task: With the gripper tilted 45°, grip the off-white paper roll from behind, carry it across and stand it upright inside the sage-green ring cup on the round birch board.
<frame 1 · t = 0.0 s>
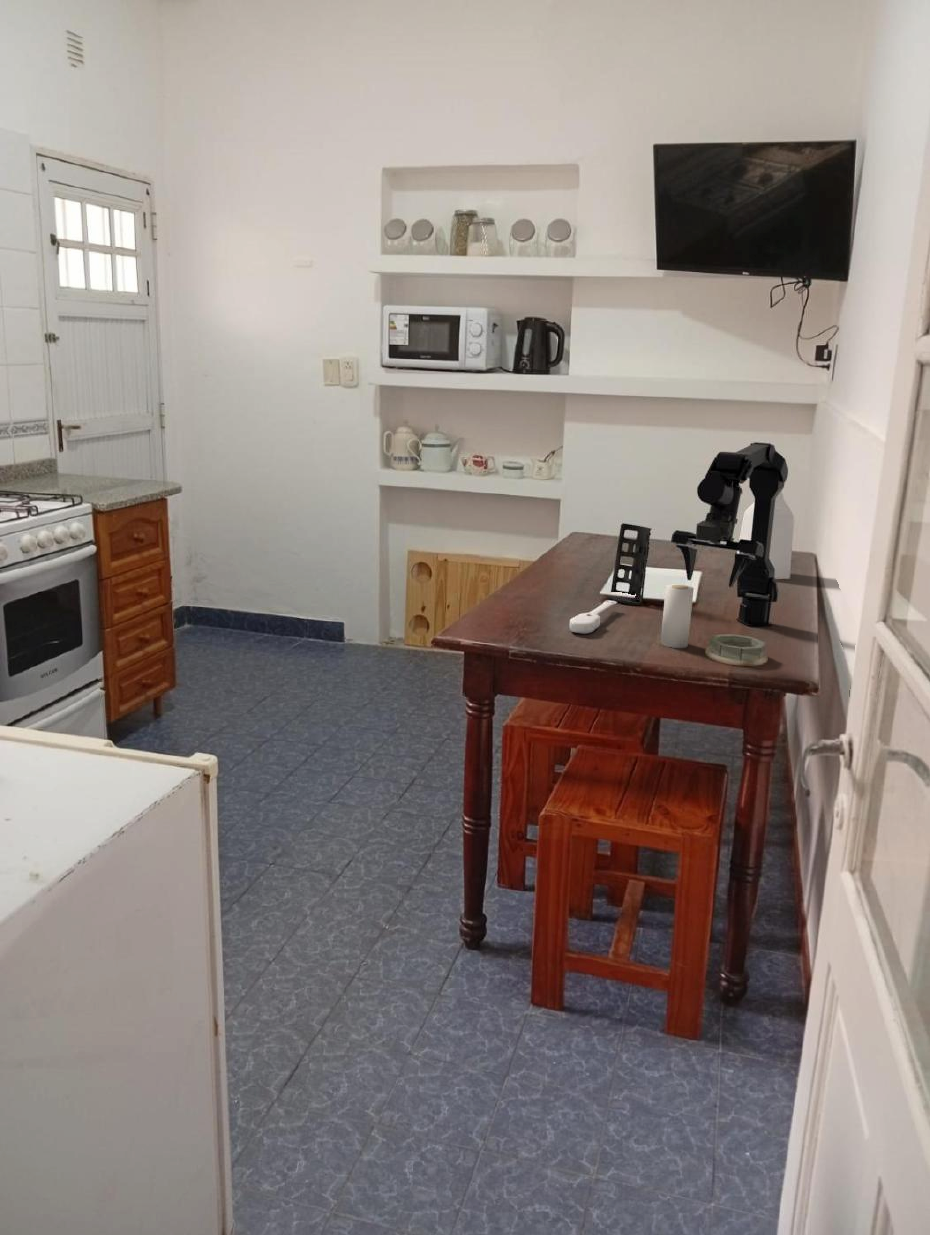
hand: (709, 583, 211), 15 cm above the table, tool pointing down, fingers open, 9 cm apart
white long handled piece: (594, 623, 237), on the table
milk: (761, 575, 302), on the table
paper roll: (674, 644, 221), on the table
holder: (628, 601, 260), on the table
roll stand: (736, 656, 213), on the table
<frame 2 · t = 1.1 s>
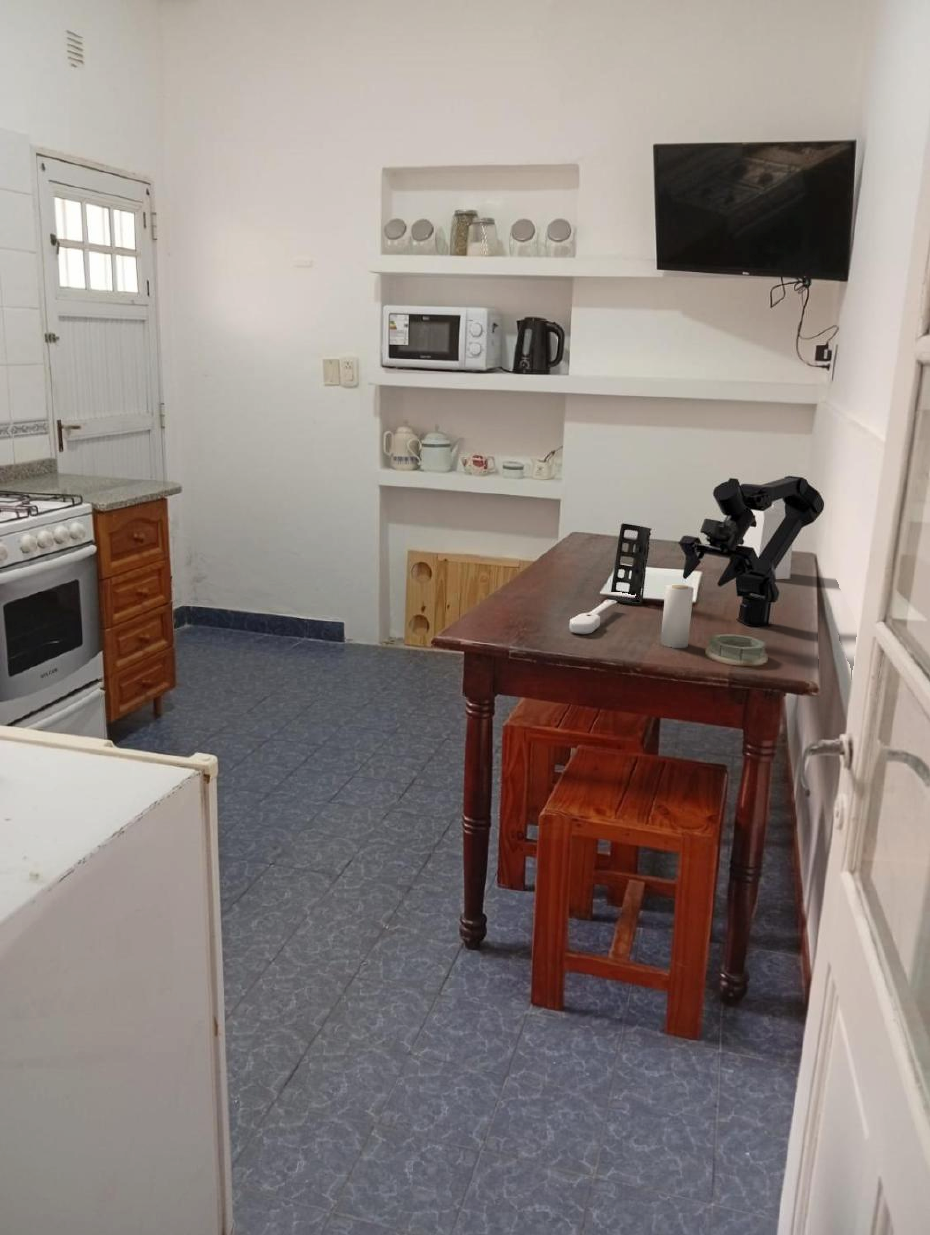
hand: (701, 581, 223), 13 cm above the table, tool tilted 45°, fingers open, 9 cm apart
nothing on the table moved.
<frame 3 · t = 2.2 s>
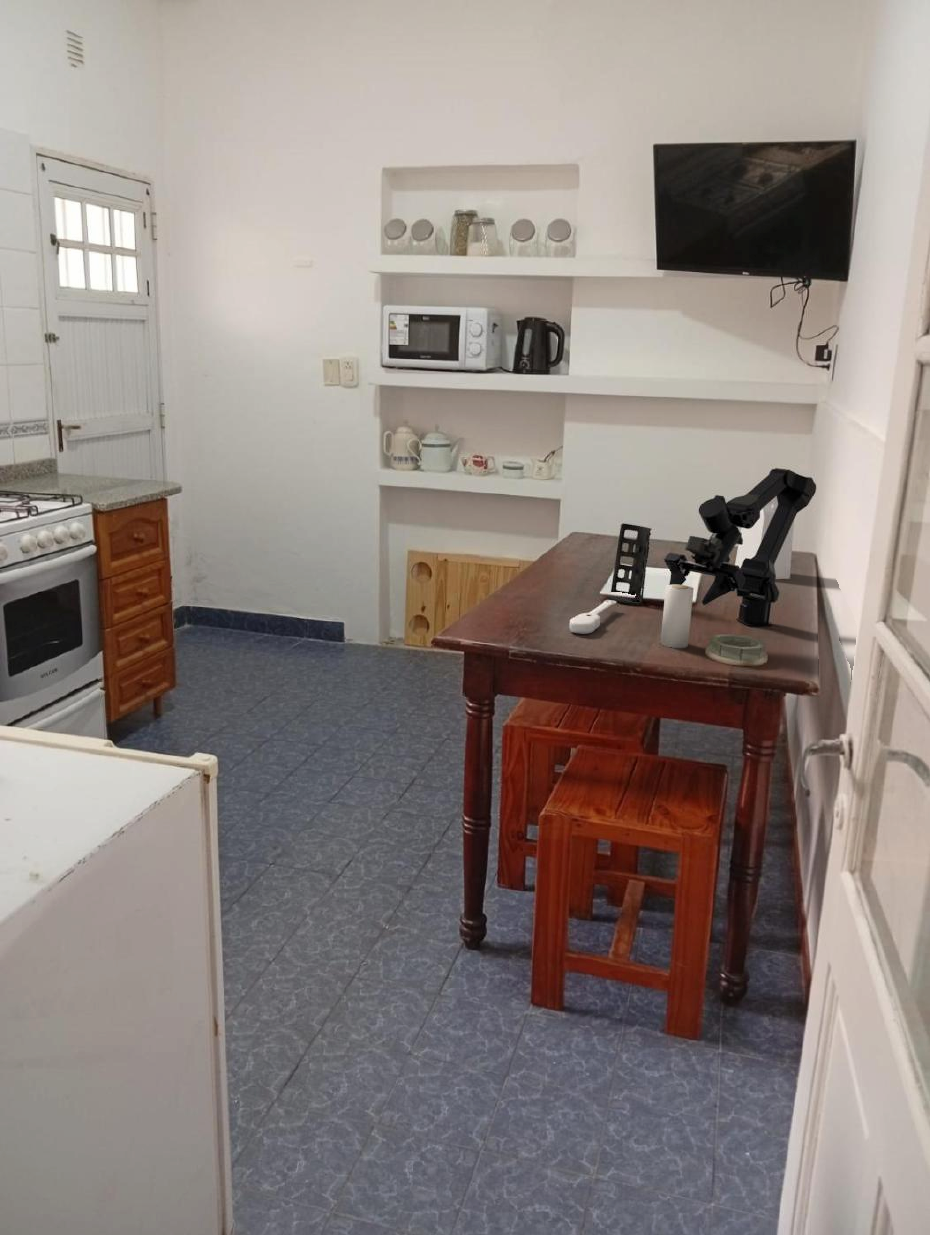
hand: (685, 599, 220), 10 cm above the table, tool tilted 45°, fingers open, 9 cm apart
nothing on the table moved.
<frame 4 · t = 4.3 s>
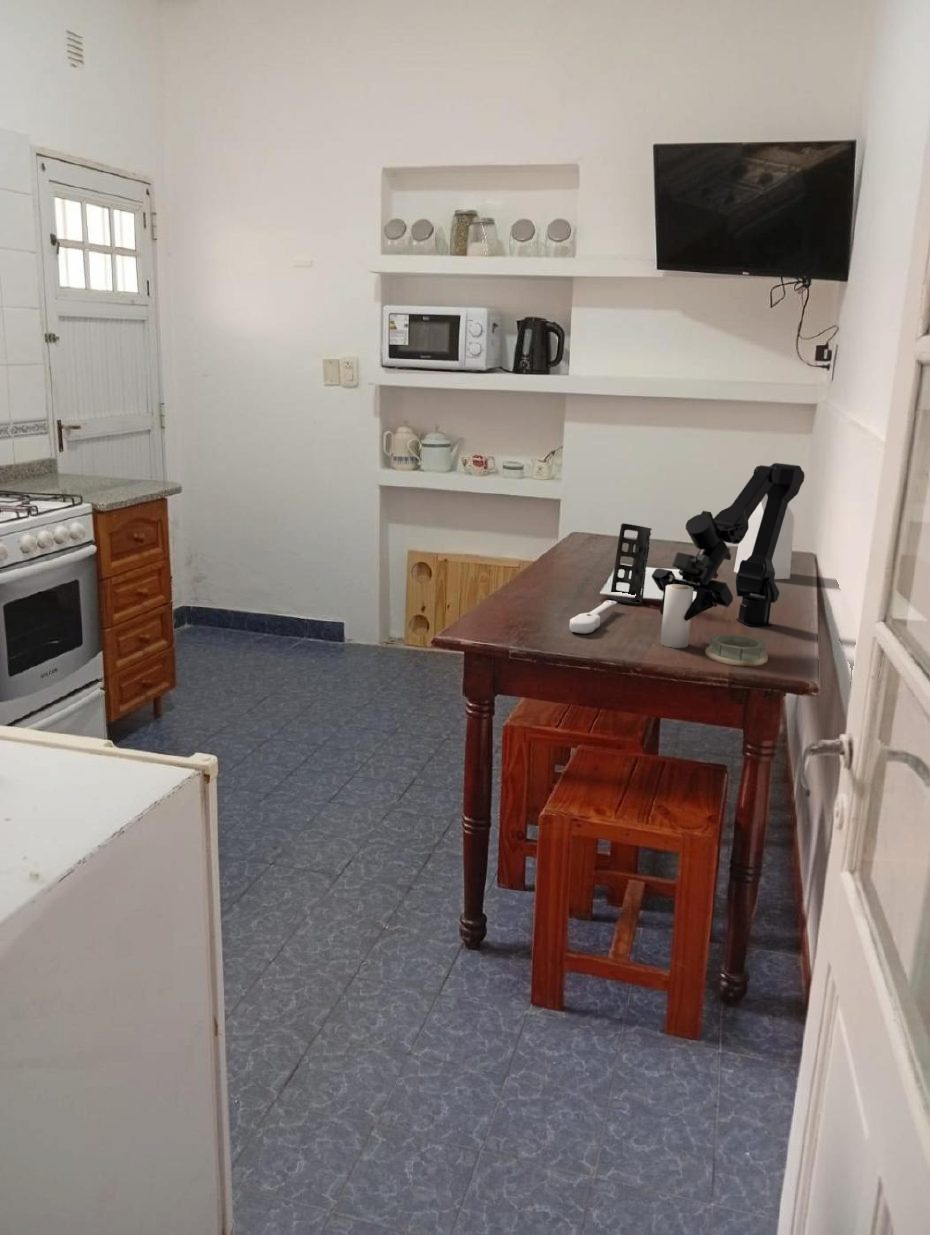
hand: (673, 616, 219), 7 cm above the table, tool tilted 45°, fingers closed on paper roll, 6 cm apart
paper roll: (674, 644, 221), on the table, touching gripper
everything else where it was.
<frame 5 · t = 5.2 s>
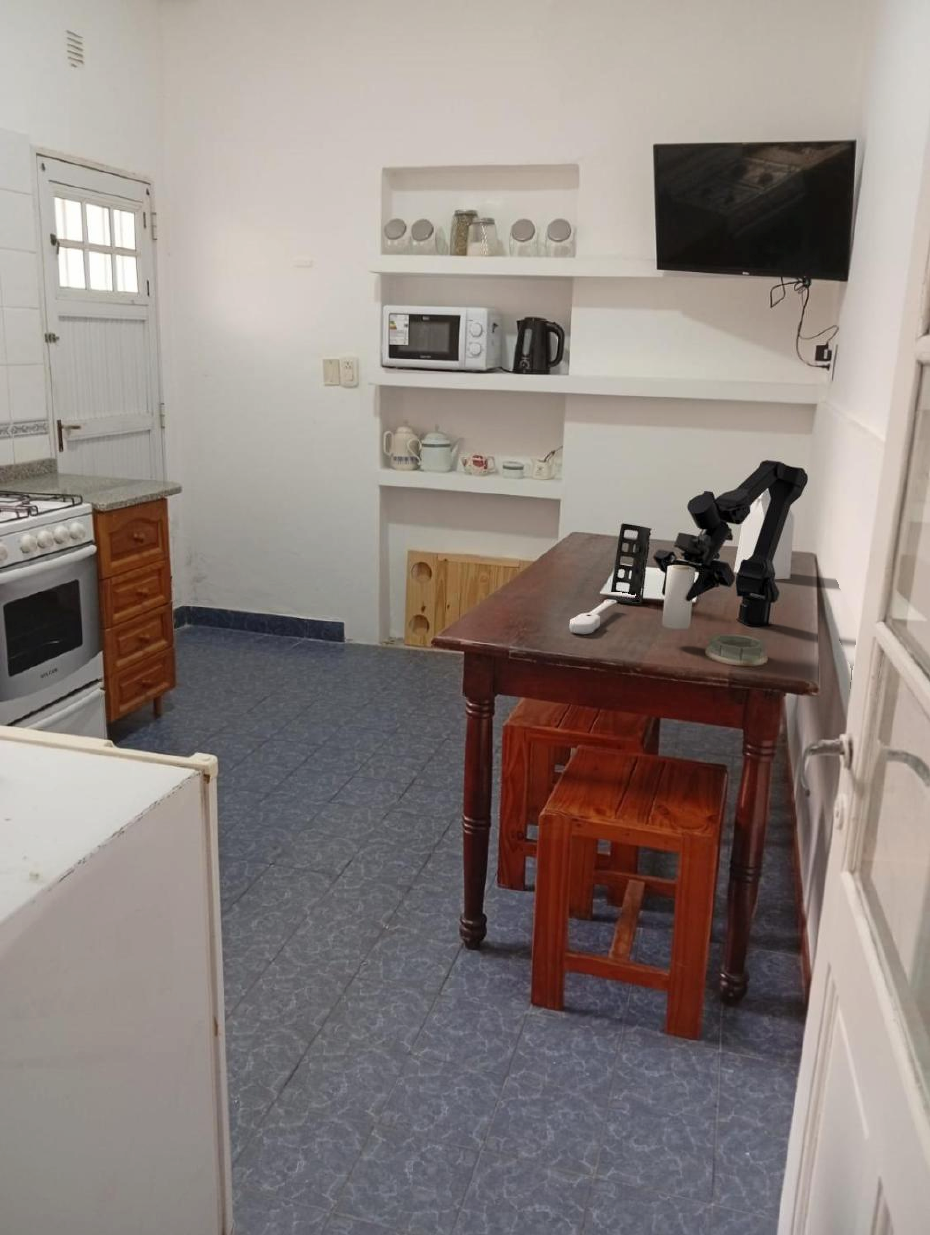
hand: (674, 597, 217), 11 cm above the table, tool tilted 45°, fingers closed on paper roll, 6 cm apart
paper roll: (675, 625, 220), point 4 cm above the table, touching gripper
everything else where it was.
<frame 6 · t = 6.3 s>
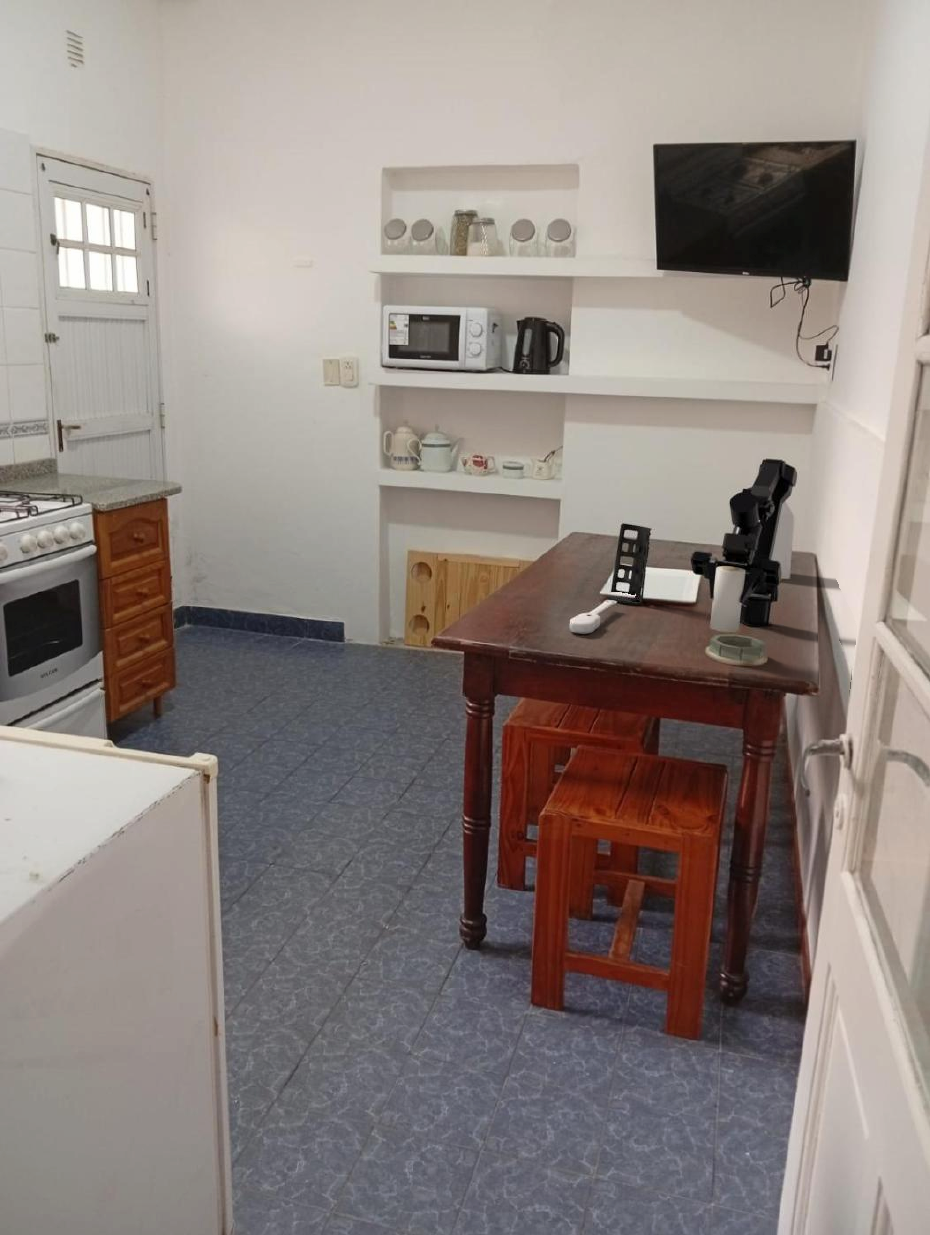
hand: (726, 599, 210), 12 cm above the table, tool tilted 45°, fingers closed on paper roll, 6 cm apart
paper roll: (724, 628, 213), point 6 cm above the table, touching gripper
everything else where it was.
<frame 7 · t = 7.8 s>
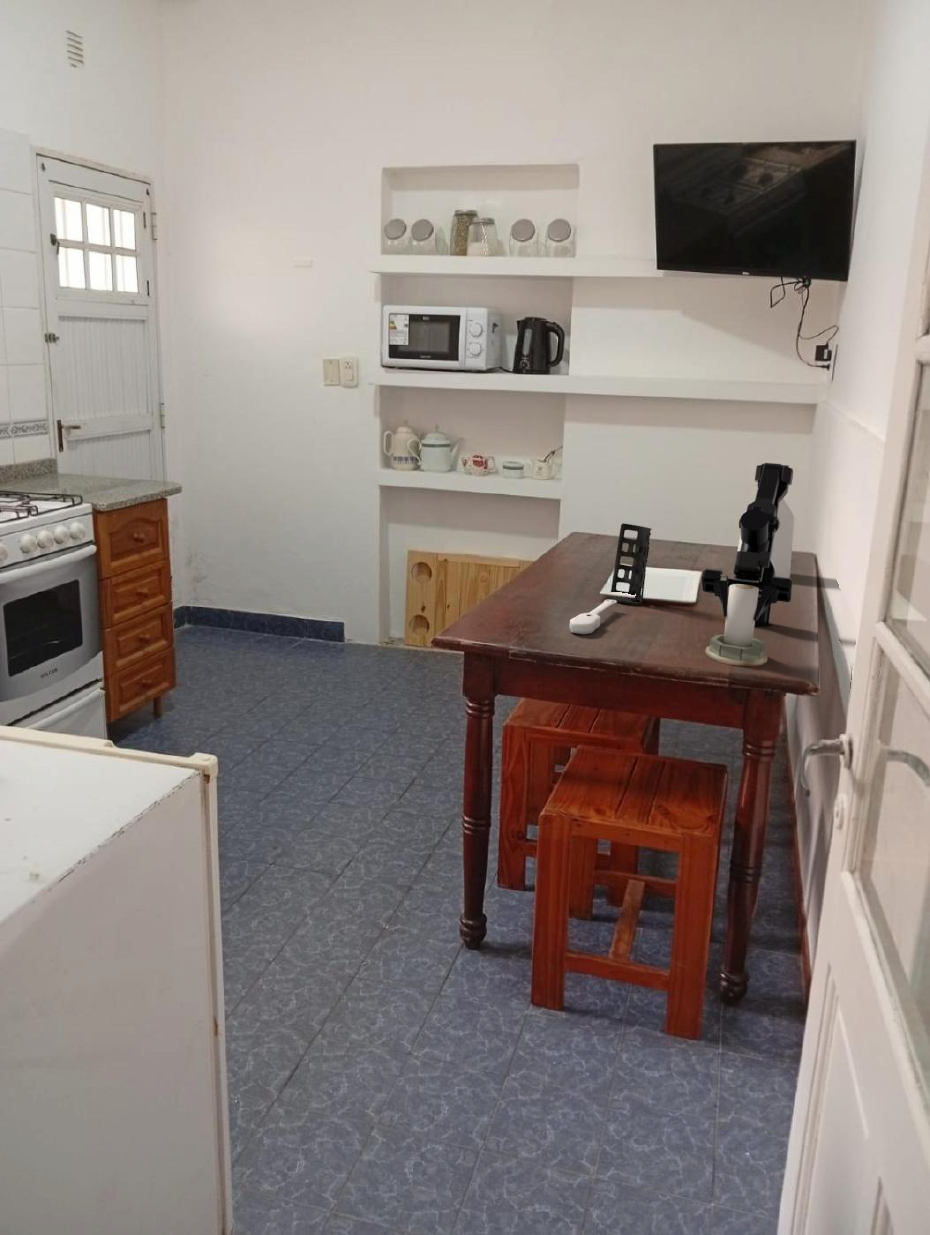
hand: (739, 617, 210), 9 cm above the table, tool tilted 45°, fingers closed on paper roll, 6 cm apart
paper roll: (737, 646, 213), point 2 cm above the table, touching gripper
everything else where it was.
when the fingers open (9 cm above the table, at t = 8.3 s): paper roll drops 1 cm, resting on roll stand.
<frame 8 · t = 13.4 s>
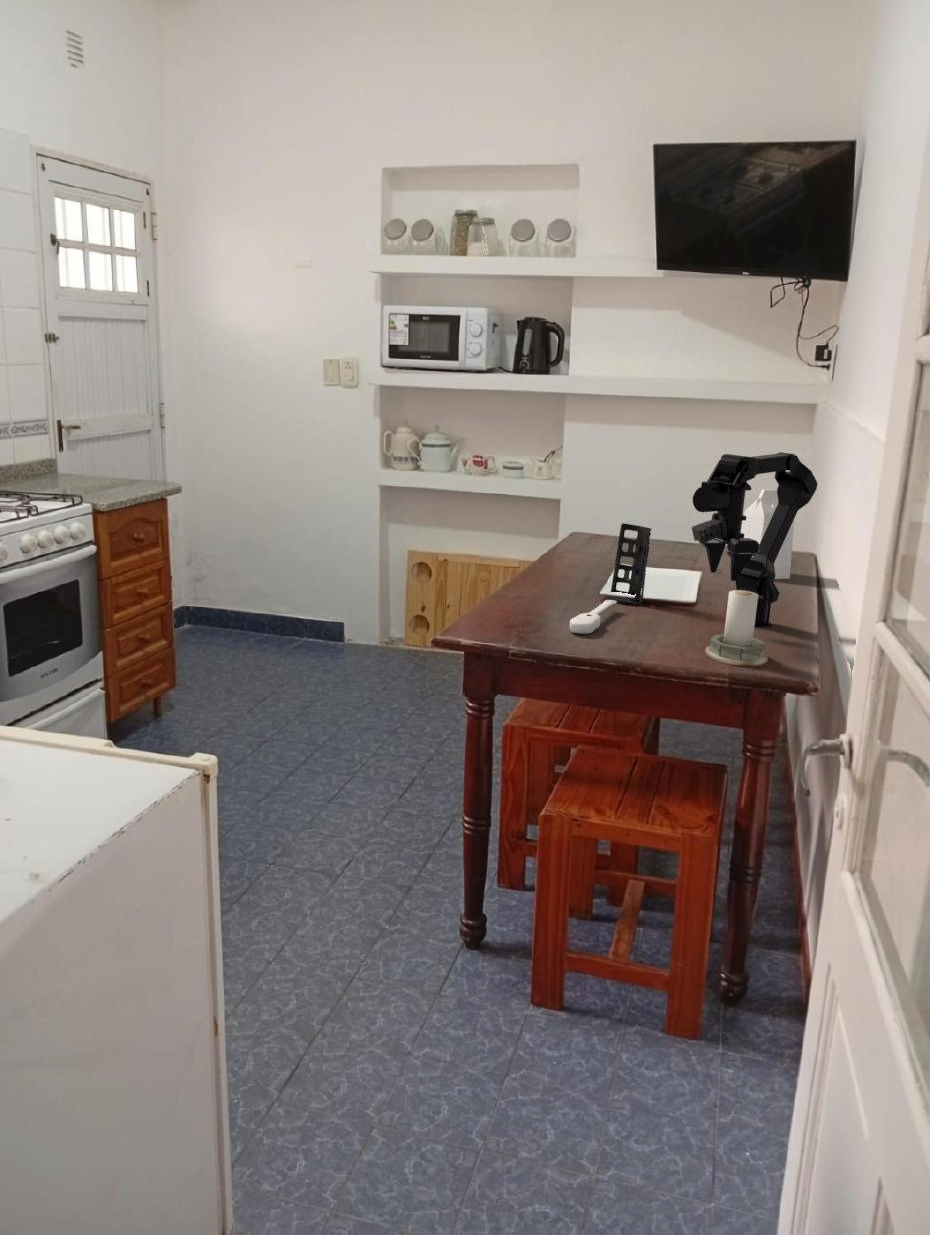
hand: (722, 576, 232), 13 cm above the table, tool pointing down, fingers open, 9 cm apart
paper roll: (736, 652, 213), point 1 cm above the table, touching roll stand
everything else where it was.
at the end: paper roll 0.0 cm from the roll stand (horizontally); paper roll tilted 0°; paper roll point 1.0 cm above the table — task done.
